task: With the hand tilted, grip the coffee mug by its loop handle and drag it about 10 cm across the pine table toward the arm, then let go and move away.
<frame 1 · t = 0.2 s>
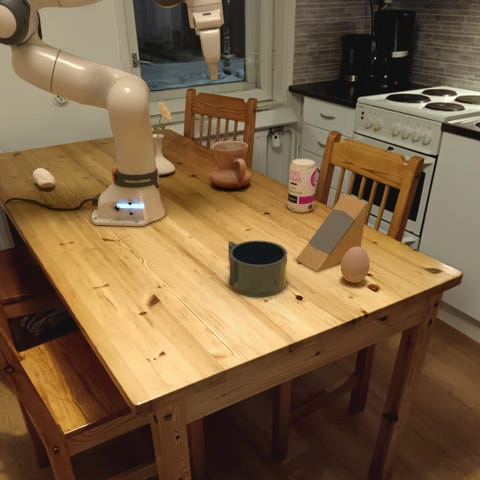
hand: (213, 77, 137), 39 cm above the table, tool pointing down, fingers open, 8 cm apart
supplement can: (300, 209, 161), on the table
flower in vase: (161, 173, 192), on the table
egg: (352, 282, 122), on the table
ceramic jug: (231, 186, 179), on the table
roll: (47, 188, 178), on the table
coffee mug: (257, 282, 121), on the table
sandwich container: (327, 258, 132), on the table
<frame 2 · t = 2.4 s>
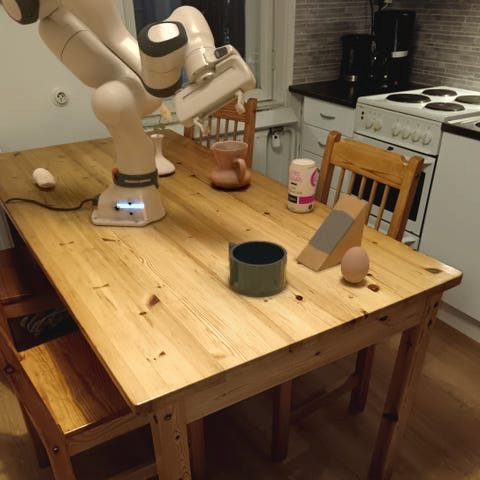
hand: (223, 122, 115), 33 cm above the table, tool tilted 45°, fingers open, 8 cm apart
nothing on the table moved.
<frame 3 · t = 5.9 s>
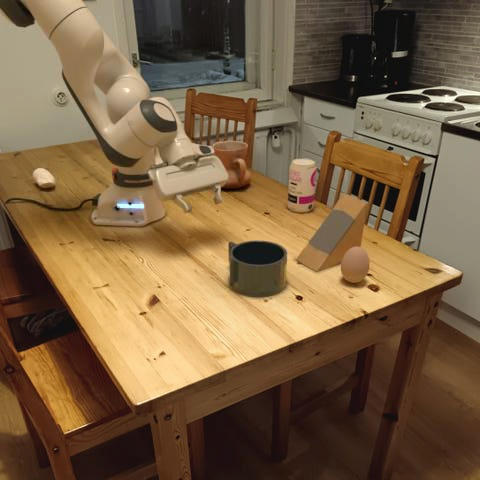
hand: (204, 207, 127), 13 cm above the table, tool tilted 45°, fingers open, 8 cm apart
nothing on the table moved.
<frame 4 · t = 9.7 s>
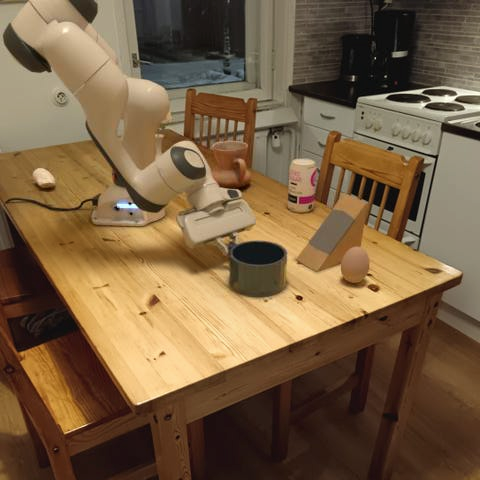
hand: (232, 252, 125), 4 cm above the table, tool tilted 45°, fingers closed on coffee mug
coffee mug: (257, 282, 121), on the table, touching gripper
everything else where it was.
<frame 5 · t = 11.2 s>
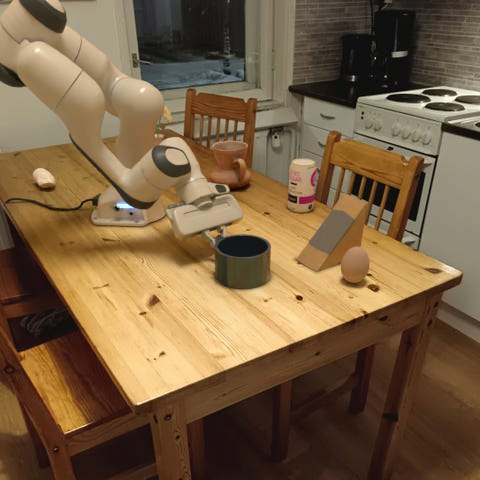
hand: (220, 245, 128), 4 cm above the table, tool tilted 45°, fingers closed on coffee mug
coffee mug: (242, 275, 124), on the table, touching gripper
everything else where it was.
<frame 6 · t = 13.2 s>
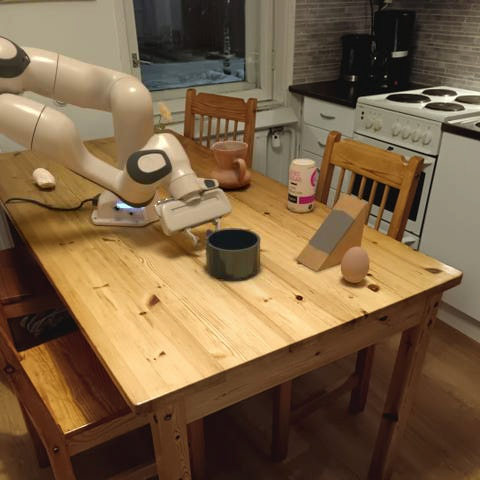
hand: (208, 240, 132), 4 cm above the table, tool tilted 40°, fingers open, 5 cm apart
coffee mug: (233, 268, 127), on the table
everything else where it was.
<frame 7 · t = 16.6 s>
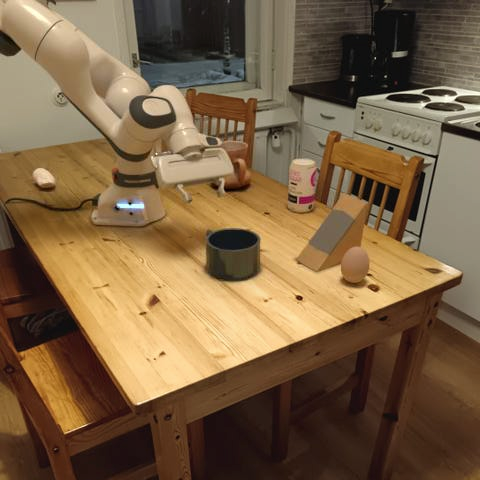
hand: (205, 199, 124), 16 cm above the table, tool tilted 45°, fingers open, 8 cm apart
nothing on the table moved.
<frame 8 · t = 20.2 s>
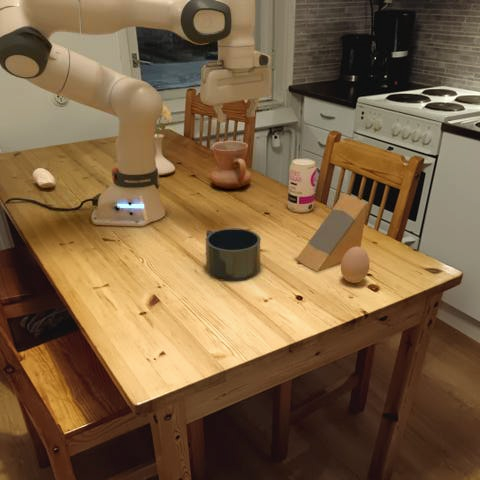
hand: (236, 119, 129), 31 cm above the table, tool pointing down, fingers open, 8 cm apart
nothing on the table moved.
at the end: coffee mug inside the target area (0.6 cm from its centre), on the table; coffee mug tilted 0°; the gripper is holding nothing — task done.
